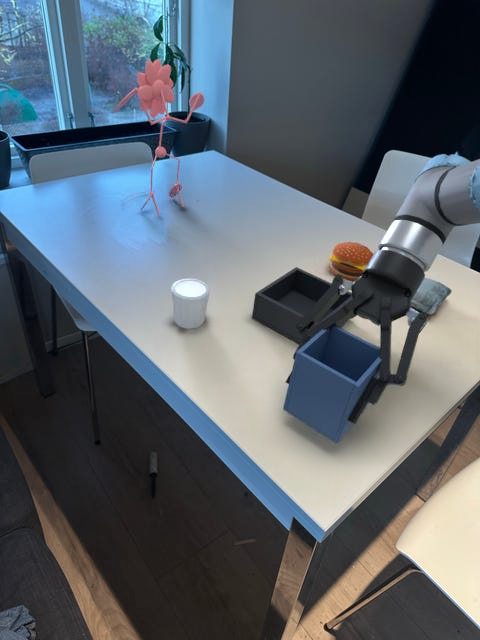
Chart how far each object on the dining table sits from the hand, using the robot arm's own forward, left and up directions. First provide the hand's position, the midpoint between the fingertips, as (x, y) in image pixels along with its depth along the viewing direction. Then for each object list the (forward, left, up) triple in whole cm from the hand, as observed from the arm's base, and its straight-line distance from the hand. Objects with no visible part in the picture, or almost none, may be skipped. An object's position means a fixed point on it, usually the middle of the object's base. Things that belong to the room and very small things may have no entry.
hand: (319, 402), depth 61 cm
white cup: (+31, -7, -7) cm, 33 cm away
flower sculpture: (+74, -38, -7) cm, 84 cm away
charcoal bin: (+16, -23, -7) cm, 29 cm away
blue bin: (0, -3, -4) cm, 5 cm away
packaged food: (+1, -47, -7) cm, 48 cm away
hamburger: (+18, -47, -7) cm, 51 cm away
